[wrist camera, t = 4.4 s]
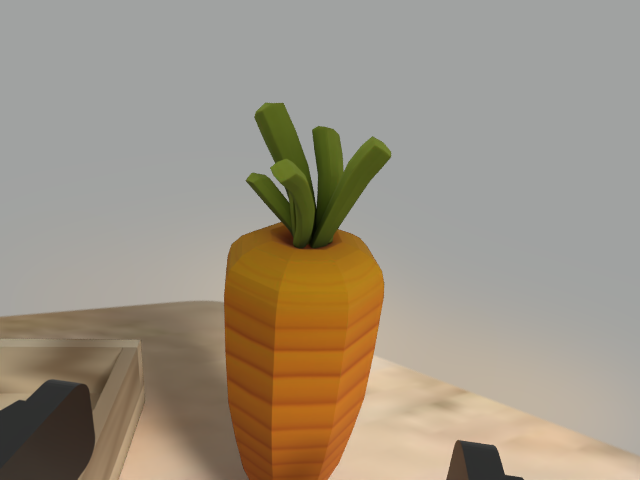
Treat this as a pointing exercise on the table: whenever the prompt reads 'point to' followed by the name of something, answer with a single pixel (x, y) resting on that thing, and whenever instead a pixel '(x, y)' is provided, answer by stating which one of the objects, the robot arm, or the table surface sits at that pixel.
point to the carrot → (301, 308)
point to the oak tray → (87, 368)
